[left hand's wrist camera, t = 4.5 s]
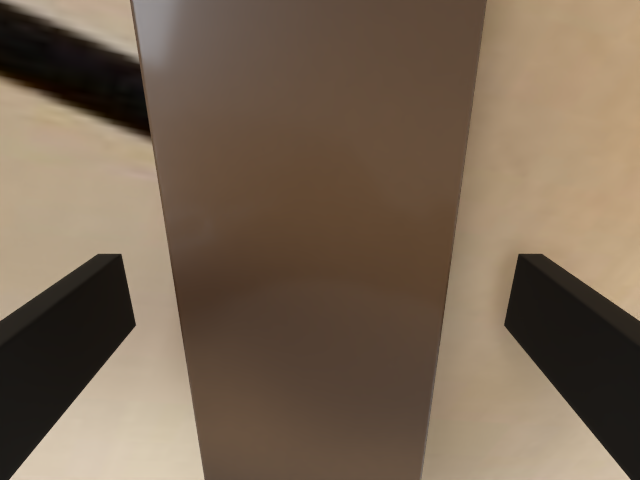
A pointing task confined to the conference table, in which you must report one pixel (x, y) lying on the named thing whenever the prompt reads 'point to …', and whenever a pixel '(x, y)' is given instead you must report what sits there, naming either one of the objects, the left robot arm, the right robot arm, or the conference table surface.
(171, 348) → the conference table surface
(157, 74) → the beam
